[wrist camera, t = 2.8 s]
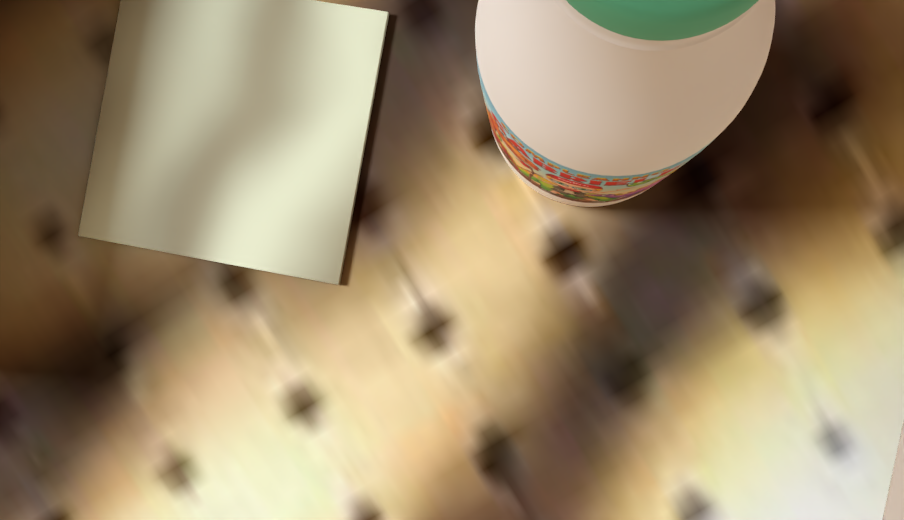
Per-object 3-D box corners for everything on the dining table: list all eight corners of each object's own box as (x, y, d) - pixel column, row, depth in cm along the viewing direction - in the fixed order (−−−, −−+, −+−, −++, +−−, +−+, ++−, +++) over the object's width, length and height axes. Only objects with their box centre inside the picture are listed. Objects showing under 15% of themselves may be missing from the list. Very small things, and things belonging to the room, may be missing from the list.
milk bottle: (491, 14, 34) (438, -355, 14) (690, 10, 33) (933, -382, 13) (489, 208, 34) (432, 117, 14) (688, 209, 33) (930, 114, 13)
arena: (-114, 356, 36) (-360, 389, 26) (-25, -136, 36) (-238, -292, 26) (310, 444, 34) (221, 514, 24) (404, -72, 34) (353, -213, 24)
